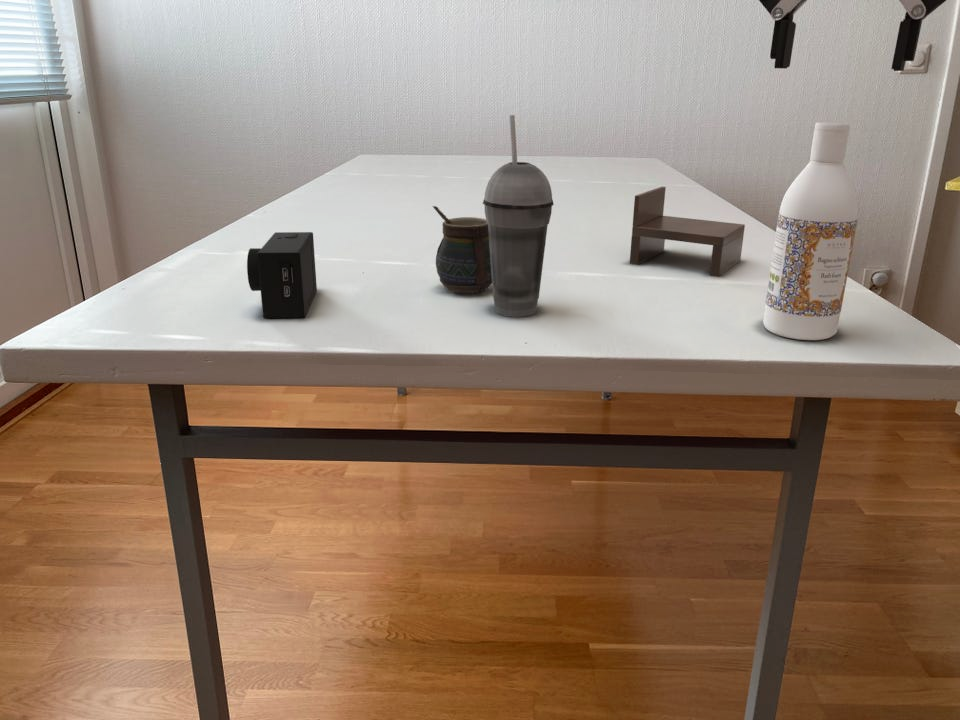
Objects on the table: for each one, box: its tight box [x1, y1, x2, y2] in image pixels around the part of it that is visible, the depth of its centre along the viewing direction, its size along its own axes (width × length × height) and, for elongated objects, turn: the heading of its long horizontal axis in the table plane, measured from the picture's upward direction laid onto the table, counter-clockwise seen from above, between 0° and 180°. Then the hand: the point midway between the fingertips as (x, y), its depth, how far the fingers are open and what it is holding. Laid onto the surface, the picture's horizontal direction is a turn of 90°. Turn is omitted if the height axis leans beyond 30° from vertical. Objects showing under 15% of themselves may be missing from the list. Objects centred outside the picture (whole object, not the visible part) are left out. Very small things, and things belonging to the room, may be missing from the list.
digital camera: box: [246, 231, 318, 319], centre depth 84 cm, size 10×5×7 cm, turn 4°
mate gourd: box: [432, 205, 492, 294], centre depth 89 cm, size 7×8×10 cm
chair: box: [629, 186, 746, 277], centre depth 103 cm, size 12×10×9 cm
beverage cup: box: [482, 114, 554, 318], centre depth 80 cm, size 7×7×20 cm
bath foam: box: [762, 121, 859, 341], centre depth 74 cm, size 7×7×20 cm
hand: (837, 69), depth 69 cm, fingers open, 9 cm apart
